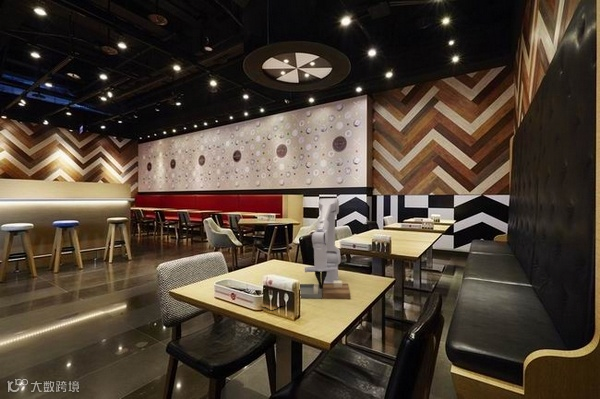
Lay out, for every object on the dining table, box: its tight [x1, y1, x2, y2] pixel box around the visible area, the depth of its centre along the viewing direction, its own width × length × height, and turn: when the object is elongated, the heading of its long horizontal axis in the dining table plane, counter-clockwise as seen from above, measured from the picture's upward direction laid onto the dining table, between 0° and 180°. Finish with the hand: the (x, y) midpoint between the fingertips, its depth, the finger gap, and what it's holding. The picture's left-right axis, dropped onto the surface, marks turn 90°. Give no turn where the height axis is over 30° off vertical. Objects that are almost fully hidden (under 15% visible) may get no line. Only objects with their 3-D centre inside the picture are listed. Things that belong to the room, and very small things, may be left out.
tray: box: [299, 283, 323, 300], centre depth 123 cm, size 14×12×2 cm
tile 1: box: [313, 283, 319, 294], centre depth 120 cm, size 4×4×2 cm
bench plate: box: [322, 282, 351, 300], centre depth 122 cm, size 14×12×2 cm
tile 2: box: [333, 280, 343, 288], centre depth 125 cm, size 4×4×2 cm
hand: (321, 288), depth 120 cm, fingers closed
